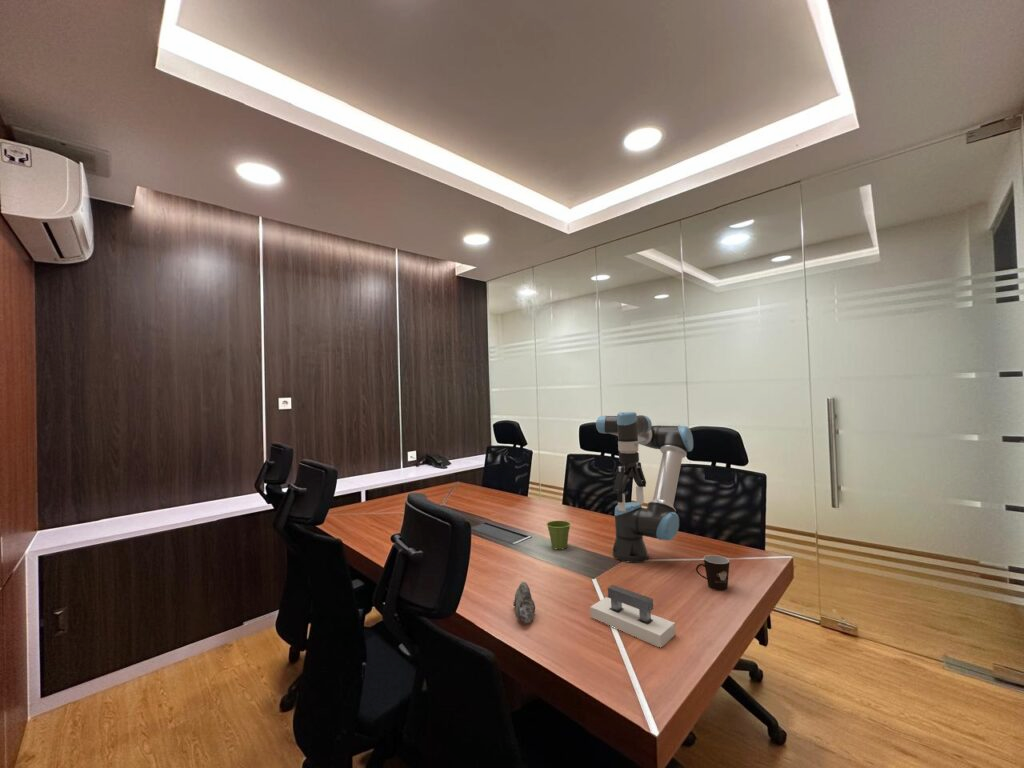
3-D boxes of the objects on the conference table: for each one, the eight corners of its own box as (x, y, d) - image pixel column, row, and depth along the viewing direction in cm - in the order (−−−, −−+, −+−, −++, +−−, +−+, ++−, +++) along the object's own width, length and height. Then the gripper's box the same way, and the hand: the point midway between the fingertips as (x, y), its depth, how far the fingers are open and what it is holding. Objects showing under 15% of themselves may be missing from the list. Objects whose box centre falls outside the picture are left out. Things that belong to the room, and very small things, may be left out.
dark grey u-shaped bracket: (609, 619, 132) (607, 587, 133) (614, 616, 134) (613, 584, 135) (649, 636, 122) (648, 602, 122) (654, 632, 124) (652, 598, 124)
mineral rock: (527, 630, 128) (526, 597, 128) (498, 621, 133) (497, 590, 134) (545, 610, 139) (544, 580, 140) (517, 604, 145) (516, 575, 145)
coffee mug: (728, 583, 155) (727, 556, 155) (732, 593, 146) (731, 564, 147) (695, 579, 158) (693, 553, 159) (697, 589, 150) (695, 561, 151)
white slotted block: (590, 617, 134) (590, 606, 134) (606, 607, 140) (606, 596, 140) (660, 648, 116) (660, 635, 116) (675, 634, 122) (674, 622, 123)
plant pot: (575, 545, 200) (574, 521, 201) (565, 553, 190) (564, 528, 191) (554, 541, 207) (553, 518, 207) (542, 549, 197) (541, 525, 197)
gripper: (619, 456, 149) (622, 515, 148) (653, 448, 166) (656, 501, 165) (602, 455, 154) (604, 512, 153) (636, 447, 171) (638, 499, 171)
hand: (631, 507), depth 159 cm, fingers open, 13 cm apart
